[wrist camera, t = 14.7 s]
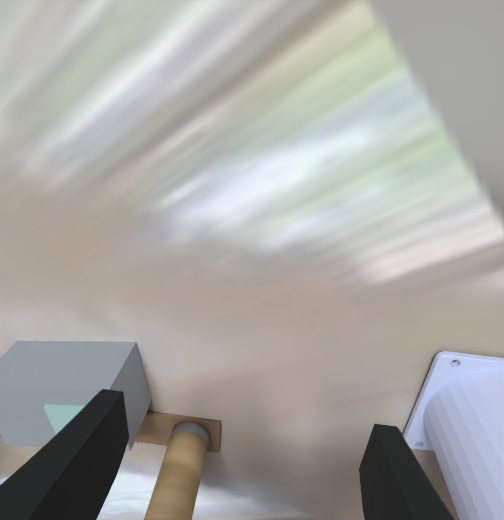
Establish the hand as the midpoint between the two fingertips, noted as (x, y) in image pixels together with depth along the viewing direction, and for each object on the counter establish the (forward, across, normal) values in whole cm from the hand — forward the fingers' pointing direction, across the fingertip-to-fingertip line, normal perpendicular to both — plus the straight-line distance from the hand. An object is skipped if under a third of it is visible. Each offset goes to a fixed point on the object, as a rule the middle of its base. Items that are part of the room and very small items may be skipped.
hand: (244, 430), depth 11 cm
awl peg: (+10, +4, +14) cm, 17 cm away
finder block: (+10, +11, +9) cm, 18 cm away
